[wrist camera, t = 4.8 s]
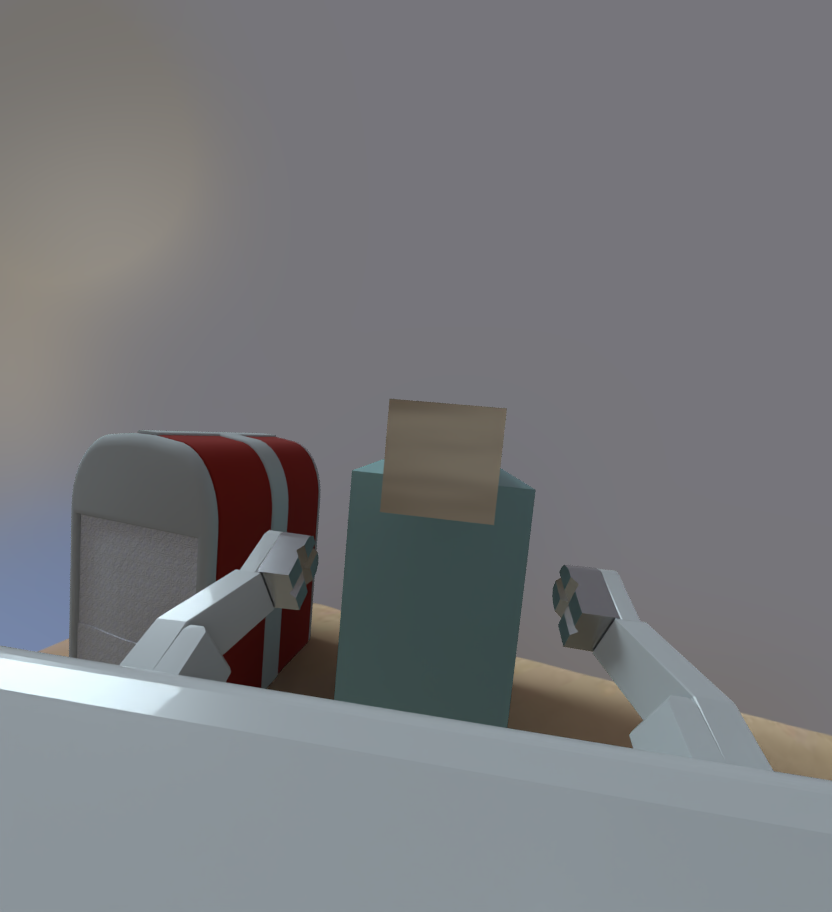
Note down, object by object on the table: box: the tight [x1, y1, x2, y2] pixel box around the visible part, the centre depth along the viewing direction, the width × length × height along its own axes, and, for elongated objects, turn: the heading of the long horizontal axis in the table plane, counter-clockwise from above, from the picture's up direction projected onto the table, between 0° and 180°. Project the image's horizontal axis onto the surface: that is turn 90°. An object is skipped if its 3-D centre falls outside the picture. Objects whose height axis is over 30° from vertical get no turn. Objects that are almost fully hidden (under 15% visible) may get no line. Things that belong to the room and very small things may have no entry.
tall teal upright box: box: [334, 459, 535, 728], centre depth 31 cm, size 20×14×26 cm
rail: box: [380, 399, 507, 525], centre depth 23 cm, size 24×4×4 cm, turn 174°
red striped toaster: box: [69, 430, 320, 689], centre depth 37 cm, size 16×18×27 cm
